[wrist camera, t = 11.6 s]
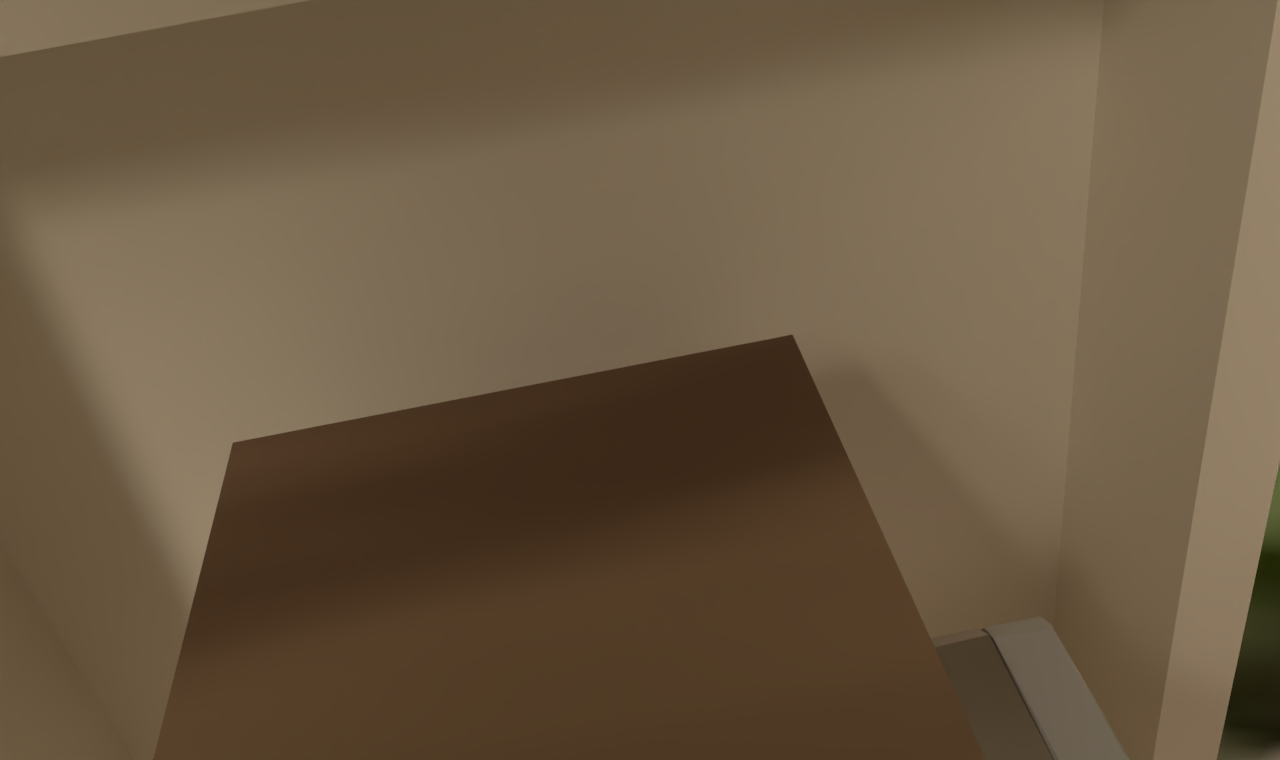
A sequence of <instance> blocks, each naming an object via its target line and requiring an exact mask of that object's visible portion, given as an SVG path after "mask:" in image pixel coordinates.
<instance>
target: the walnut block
mask: <svg viewBox="0 0 1280 760" xmlns="http://www.w3.org/2000/svg"><path fill="white" fill-rule="evenodd" d="M153 760H986V759H985V757H984V755H983V753H982V751H981V748H980V746H979V744H978V742H977V740H976V737H975V735H974V733H973V731H972V729H971V726H970V724H969V722H968V720H967V718H966V715H965V713H964V711H963V709H962V707H961V704H960V702H959V700H958V698H957V696H956V693H955V691H954V689H953V687H952V685H951V682H950V680H949V678H948V676H947V674H946V671H945V669H944V667H943V665H942V663H941V660H940V658H939V656H938V654H937V652H936V649H935V647H934V645H933V643H932V640H931V638H930V636H929V634H928V632H927V629H926V627H925V625H924V623H923V621H922V618H921V616H920V614H919V612H918V610H917V607H916V605H915V603H914V601H913V599H912V596H911V594H910V592H909V590H908V588H907V585H906V583H905V581H904V579H903V577H902V574H901V572H900V570H899V568H898V566H897V563H896V561H895V559H894V557H893V555H892V552H891V550H890V548H889V546H888V544H887V541H886V539H885V537H884V535H883V533H882V530H881V528H880V526H879V524H878V522H877V519H876V517H875V515H874V513H873V511H872V508H871V506H870V504H869V502H868V500H867V497H866V495H865V493H864V491H863V488H862V486H861V484H860V482H859V480H858V477H857V475H856V473H855V471H854V469H853V466H852V464H851V462H850V460H849V458H848V455H847V453H846V451H845V449H844V447H843V444H842V442H841V440H840V438H839V436H838V433H837V431H836V429H835V427H834V425H833V422H832V420H831V418H830V416H829V414H828V411H827V409H826V407H825V405H824V403H823V400H822V398H821V396H820V394H819V392H818V389H817V387H816V385H815V383H814V381H813V378H812V376H811V374H810V372H809V370H808V367H807V365H806V363H805V361H804V359H803V356H802V354H801V352H800V350H799V348H798V345H797V343H796V341H795V339H794V336H793V335H788V336H783V337H777V338H772V339H767V340H762V341H757V342H751V343H746V344H741V345H736V346H731V347H726V348H720V349H715V350H710V351H705V352H700V353H694V354H689V355H684V356H679V357H674V358H669V359H663V360H658V361H653V362H648V363H643V364H638V365H632V366H627V367H622V368H617V369H612V370H606V371H601V372H596V373H591V374H586V375H581V376H575V377H570V378H565V379H560V380H555V381H549V382H544V383H539V384H534V385H529V386H524V387H518V388H513V389H508V390H503V391H498V392H492V393H487V394H482V395H477V396H472V397H467V398H461V399H456V400H451V401H446V402H441V403H435V404H430V405H425V406H420V407H415V408H410V409H404V410H399V411H394V412H389V413H384V414H379V415H373V416H368V417H363V418H358V419H353V420H347V421H342V422H337V423H332V424H327V425H322V426H316V427H311V428H306V429H301V430H296V431H290V432H285V433H280V434H275V435H270V436H265V437H259V438H254V439H249V440H244V441H239V442H233V444H232V448H231V452H230V456H229V460H228V464H227V468H226V472H225V476H224V480H223V484H222V488H221V492H220V496H219V500H218V504H217V508H216V512H215V516H214V520H213V524H212V528H211V532H210V536H209V540H208V544H207V548H206V551H205V555H204V559H203V563H202V567H201V571H200V575H199V579H198V583H197V587H196V591H195V595H194V599H193V603H192V607H191V611H190V615H189V619H188V623H187V627H186V631H185V635H184V639H183V643H182V647H181V651H180V655H179V659H178V663H177V667H176V671H175V675H174V679H173V683H172V687H171V691H170V695H169V699H168V703H167V707H166V711H165V715H164V719H163V723H162V727H161V731H160V735H159V739H158V743H157V747H156V751H155V755H154V759H153Z"/></svg>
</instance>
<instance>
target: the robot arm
mask: <svg viewBox="0 0 1280 760" xmlns="http://www.w3.org/2000/svg"><path fill="white" fill-rule="evenodd" d="M931 640H932V643H933V645H934V647H935V649H936V652H937V654H938V656H939V658H940V660H941V663H942V665H943V667H944V669H945V671H946V674H947V676H948V678H949V680H950V682H951V685H952V687H953V689H954V691H955V693H956V696H957V698H958V700H959V702H960V704H961V707H962V709H963V711H964V713H965V715H966V718H967V720H968V722H969V724H970V726H971V729H972V731H973V733H974V735H975V737H976V740H977V742H978V744H979V746H980V748H981V751H982V753H983V755H984V757H985V759H986V760H1130V758H1129V757H1128V755H1127V753H1126V752H1125V750H1124V748H1123V746H1122V745H1121V743H1120V741H1119V740H1118V738H1117V736H1116V734H1115V733H1114V731H1113V729H1112V728H1111V726H1110V724H1109V723H1108V721H1107V719H1106V717H1105V716H1104V714H1103V712H1102V711H1101V709H1100V707H1099V705H1098V704H1097V702H1096V700H1095V699H1094V697H1093V695H1092V693H1091V692H1090V690H1089V688H1088V687H1087V685H1086V683H1085V682H1084V680H1083V678H1082V676H1081V675H1080V673H1079V671H1078V670H1077V668H1076V666H1075V664H1074V663H1073V661H1072V659H1071V658H1070V656H1069V654H1068V652H1067V651H1066V649H1065V647H1064V646H1063V644H1062V642H1061V640H1060V639H1059V637H1058V635H1057V634H1056V632H1055V630H1054V629H1053V627H1052V625H1051V624H1050V623H1049V622H1047V621H1046V620H1045V619H1043V618H1042V617H1041V616H1039V617H1034V618H1030V619H1025V620H1020V621H1015V622H1010V623H1005V624H1000V625H995V626H990V627H985V628H982V629H981V630H980V629H978V628H975V629H970V630H966V631H961V632H957V633H952V634H947V635H943V636H938V637H934V638H931Z"/></svg>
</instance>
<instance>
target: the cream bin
mask: <svg viewBox="0 0 1280 760" xmlns="http://www.w3.org/2000/svg"><path fill="white" fill-rule="evenodd" d="M788 335H793V336H794V339H795V341H796V343H797V345H798V348H799V350H800V352H801V354H802V356H803V359H804V361H805V363H806V365H807V367H808V370H809V372H810V374H811V376H812V378H813V381H814V383H815V385H816V387H817V389H818V392H819V394H820V396H821V398H822V400H823V403H824V405H825V407H826V409H827V411H828V414H829V416H830V418H831V420H832V422H833V425H834V427H835V429H836V431H837V433H838V436H839V438H840V440H841V442H842V444H843V447H844V449H845V451H846V453H847V455H848V458H849V460H850V462H851V464H852V466H853V469H854V471H855V473H856V475H857V477H858V480H859V482H860V484H861V486H862V488H863V491H864V493H865V495H866V497H867V500H868V502H869V504H870V506H871V508H872V511H873V513H874V515H875V517H876V519H877V522H878V524H879V526H880V528H881V530H882V533H883V535H884V537H885V539H886V541H887V544H888V546H889V548H890V550H891V552H892V555H893V557H894V559H895V561H896V563H897V566H898V568H899V570H900V572H901V574H902V577H903V579H904V581H905V583H906V585H907V588H908V590H909V592H910V594H911V596H912V599H913V601H914V603H915V605H916V607H917V610H918V612H919V614H920V616H921V618H922V621H923V623H924V625H925V627H926V629H927V632H928V634H929V636H930V638H934V637H938V636H943V635H947V634H952V633H957V632H961V631H966V630H970V629H975V628H978V629H980V630H981V629H982V628H985V627H990V626H995V625H1000V624H1005V623H1010V622H1015V621H1020V620H1025V619H1030V618H1034V617H1039V616H1041V617H1042V618H1043V619H1045V620H1046V621H1047V622H1049V623H1050V624H1051V625H1052V627H1053V629H1054V630H1055V632H1056V634H1057V635H1058V637H1059V639H1060V640H1061V642H1062V644H1063V646H1064V647H1065V649H1066V651H1067V652H1068V654H1069V656H1070V658H1071V659H1072V661H1073V663H1074V664H1075V666H1076V668H1077V670H1078V671H1079V673H1080V675H1081V676H1082V678H1083V680H1084V682H1085V683H1086V685H1087V687H1088V688H1089V690H1090V692H1091V693H1092V695H1093V697H1094V699H1095V700H1096V702H1097V704H1098V705H1099V707H1100V709H1101V711H1102V712H1103V714H1104V716H1105V717H1106V719H1107V721H1108V723H1109V724H1110V726H1111V728H1112V729H1113V731H1114V733H1115V734H1116V736H1117V738H1118V740H1119V741H1120V743H1121V745H1122V746H1123V748H1124V750H1125V752H1126V753H1127V755H1128V757H1129V758H1130V760H1217V756H1218V751H1219V746H1220V742H1221V737H1222V732H1223V727H1224V723H1225V718H1226V713H1227V708H1228V704H1229V699H1230V694H1231V690H1232V685H1233V680H1234V675H1235V671H1236V666H1237V661H1238V657H1239V652H1240V647H1241V642H1242V638H1243V633H1244V628H1245V624H1246V619H1247V614H1248V609H1249V605H1250V600H1251V595H1252V591H1253V586H1254V581H1255V576H1256V572H1257V567H1258V562H1259V558H1260V553H1261V548H1262V543H1263V539H1264V534H1265V529H1266V524H1267V520H1268V515H1269V510H1270V506H1271V501H1272V496H1273V491H1274V487H1275V482H1276V477H1277V473H1278V468H1279V463H1280V0H0V760H153V759H154V755H155V751H156V747H157V743H158V739H159V735H160V731H161V727H162V723H163V719H164V715H165V711H166V707H167V703H168V699H169V695H170V691H171V687H172V683H173V679H174V675H175V671H176V667H177V663H178V659H179V655H180V651H181V647H182V643H183V639H184V635H185V631H186V627H187V623H188V619H189V615H190V611H191V607H192V603H193V599H194V595H195V591H196V587H197V583H198V579H199V575H200V571H201V567H202V563H203V559H204V555H205V551H206V548H207V544H208V540H209V536H210V532H211V528H212V524H213V520H214V516H215V512H216V508H217V504H218V500H219V496H220V492H221V488H222V484H223V480H224V476H225V472H226V468H227V464H228V460H229V456H230V452H231V448H232V444H233V442H239V441H244V440H249V439H254V438H259V437H265V436H270V435H275V434H280V433H285V432H290V431H296V430H301V429H306V428H311V427H316V426H322V425H327V424H332V423H337V422H342V421H347V420H353V419H358V418H363V417H368V416H373V415H379V414H384V413H389V412H394V411H399V410H404V409H410V408H415V407H420V406H425V405H430V404H435V403H441V402H446V401H451V400H456V399H461V398H467V397H472V396H477V395H482V394H487V393H492V392H498V391H503V390H508V389H513V388H518V387H524V386H529V385H534V384H539V383H544V382H549V381H555V380H560V379H565V378H570V377H575V376H581V375H586V374H591V373H596V372H601V371H606V370H612V369H617V368H622V367H627V366H632V365H638V364H643V363H648V362H653V361H658V360H663V359H669V358H674V357H679V356H684V355H689V354H694V353H700V352H705V351H710V350H715V349H720V348H726V347H731V346H736V345H741V344H746V343H751V342H757V341H762V340H767V339H772V338H777V337H783V336H788Z"/></svg>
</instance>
